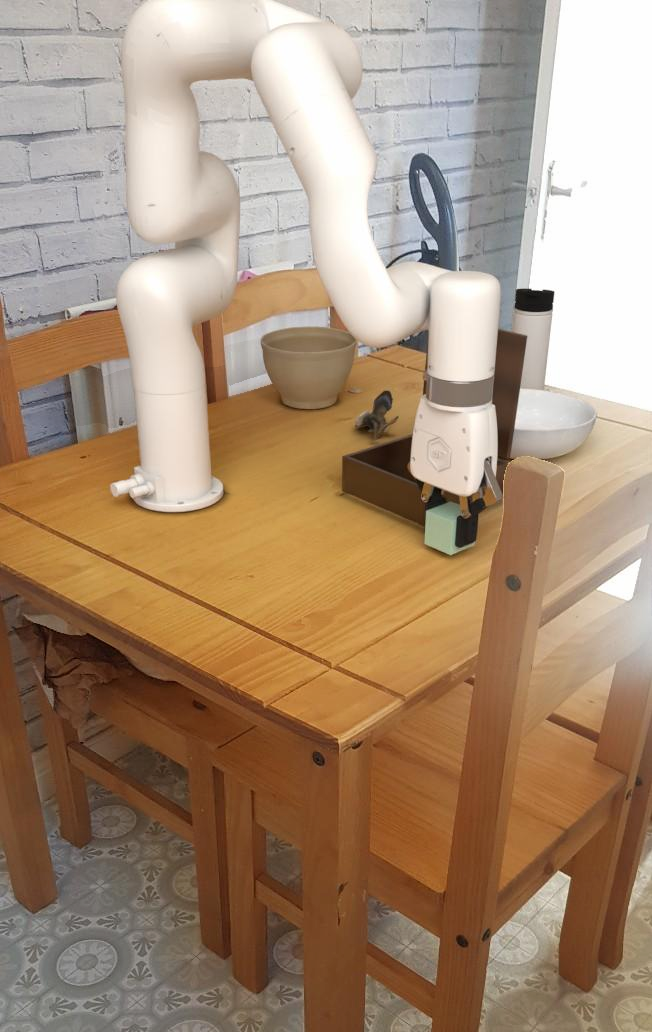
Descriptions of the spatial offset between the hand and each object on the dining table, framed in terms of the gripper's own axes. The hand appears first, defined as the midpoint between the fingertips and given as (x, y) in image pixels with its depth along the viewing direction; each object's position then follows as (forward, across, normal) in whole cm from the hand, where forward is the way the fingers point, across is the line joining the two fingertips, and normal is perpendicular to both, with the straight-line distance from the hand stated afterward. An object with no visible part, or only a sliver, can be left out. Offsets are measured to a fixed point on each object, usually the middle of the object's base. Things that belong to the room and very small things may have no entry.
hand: (449, 536), depth 126 cm
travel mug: (+3, -31, +52) cm, 61 cm away
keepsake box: (+3, -15, +11) cm, 19 cm away
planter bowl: (+3, -58, +27) cm, 64 cm away
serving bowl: (+3, -18, +36) cm, 40 cm away
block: (+1, 0, 0) cm, 1 cm away
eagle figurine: (+3, -38, +24) cm, 45 cm away
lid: (-11, -15, +19) cm, 27 cm away
